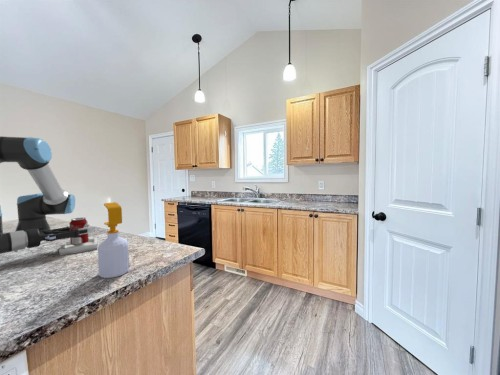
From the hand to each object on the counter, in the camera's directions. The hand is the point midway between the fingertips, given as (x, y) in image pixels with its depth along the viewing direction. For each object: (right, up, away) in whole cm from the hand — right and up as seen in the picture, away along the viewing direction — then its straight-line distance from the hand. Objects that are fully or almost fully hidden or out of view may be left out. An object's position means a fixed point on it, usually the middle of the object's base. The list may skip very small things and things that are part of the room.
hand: (91, 228), depth 109 cm
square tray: (-3, -9, -4) cm, 10 cm away
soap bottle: (+29, -10, -30) cm, 43 cm away
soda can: (-3, -7, -4) cm, 8 cm away
